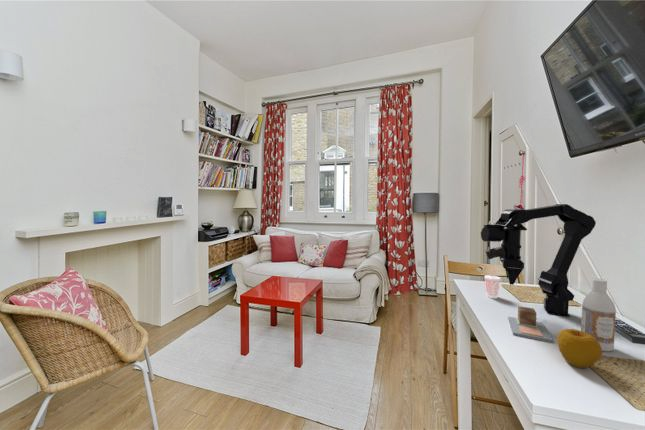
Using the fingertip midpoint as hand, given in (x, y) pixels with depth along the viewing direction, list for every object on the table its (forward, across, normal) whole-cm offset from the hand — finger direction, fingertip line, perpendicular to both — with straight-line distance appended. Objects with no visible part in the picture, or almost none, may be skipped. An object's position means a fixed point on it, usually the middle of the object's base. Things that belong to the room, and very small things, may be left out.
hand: (510, 281), depth 106 cm
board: (+12, +15, +4) cm, 20 cm away
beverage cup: (+12, -17, -5) cm, 22 cm away
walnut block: (+11, +11, +4) cm, 16 cm away
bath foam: (+12, +18, +20) cm, 30 cm away
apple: (+12, +33, +12) cm, 37 cm away
